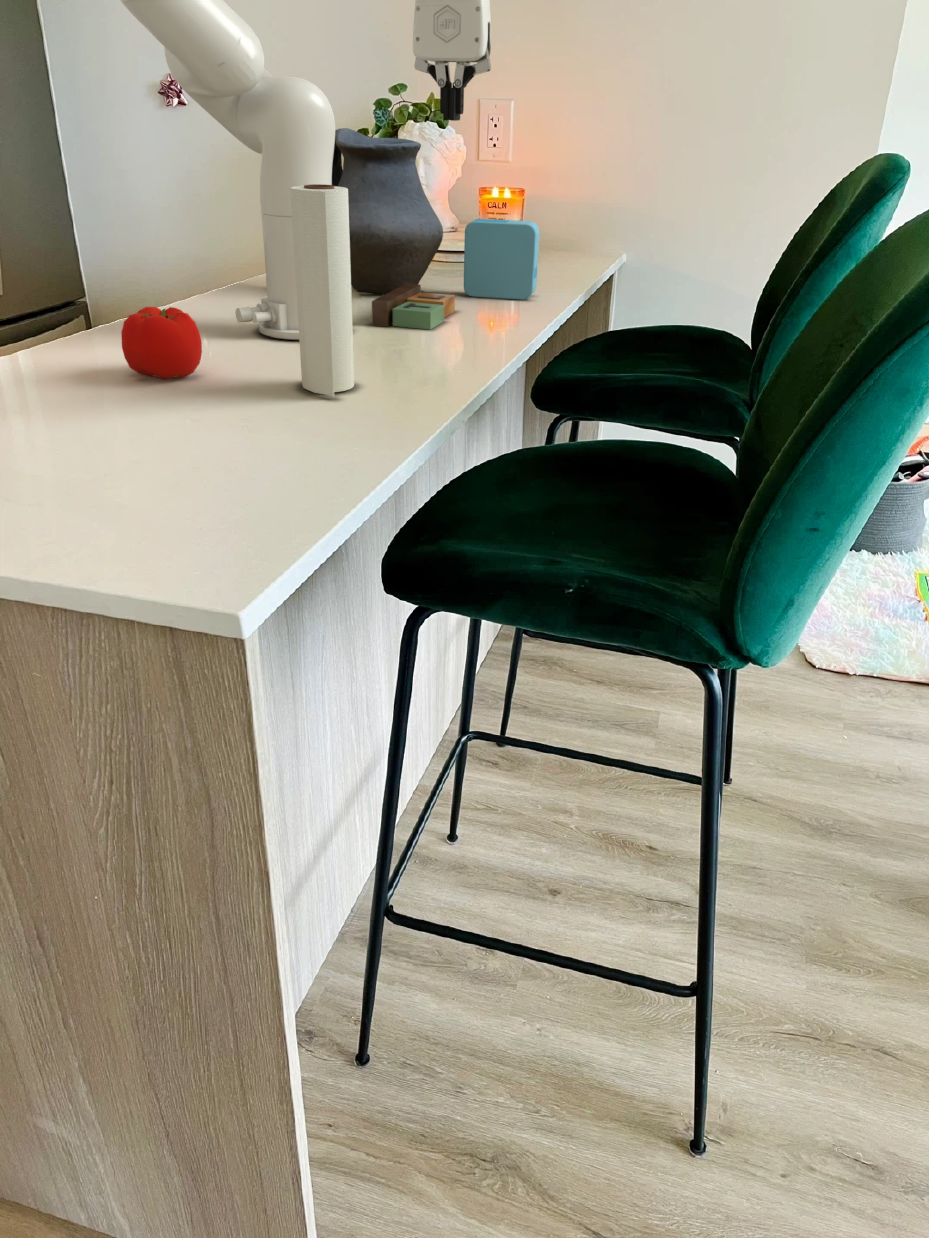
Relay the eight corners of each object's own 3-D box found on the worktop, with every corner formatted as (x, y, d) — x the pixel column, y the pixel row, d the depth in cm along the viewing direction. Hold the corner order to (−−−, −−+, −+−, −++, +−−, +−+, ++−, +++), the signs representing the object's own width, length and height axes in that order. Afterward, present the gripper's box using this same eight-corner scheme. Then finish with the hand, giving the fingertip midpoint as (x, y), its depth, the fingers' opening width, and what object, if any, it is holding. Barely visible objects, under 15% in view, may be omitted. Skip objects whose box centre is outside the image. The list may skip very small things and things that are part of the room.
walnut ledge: (387, 326, 139) (387, 302, 138) (372, 325, 140) (371, 301, 138) (420, 307, 153) (420, 284, 151) (406, 306, 153) (406, 283, 152)
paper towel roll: (318, 378, 113) (308, 182, 103) (363, 384, 111) (357, 185, 101) (286, 393, 107) (273, 186, 97) (334, 399, 105) (325, 190, 95)
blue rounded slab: (536, 296, 164) (540, 221, 158) (532, 300, 160) (536, 224, 154) (468, 292, 166) (470, 218, 160) (462, 296, 162) (464, 221, 156)
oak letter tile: (443, 318, 145) (443, 301, 144) (406, 315, 147) (406, 298, 146) (454, 311, 150) (455, 294, 149) (419, 308, 152) (419, 291, 151)
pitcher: (396, 306, 153) (394, 133, 141) (293, 291, 163) (283, 128, 151) (463, 288, 168) (466, 131, 156) (365, 275, 178) (361, 127, 166)
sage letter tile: (430, 329, 138) (430, 311, 137) (392, 326, 140) (392, 308, 139) (444, 322, 143) (444, 304, 142) (407, 318, 145) (406, 301, 144)
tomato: (167, 389, 107) (159, 321, 104) (111, 377, 111) (101, 312, 108) (223, 372, 115) (217, 308, 111) (169, 361, 118) (161, 299, 115)
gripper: (391, -40, 123) (392, 119, 132) (502, -41, 120) (496, 122, 128) (409, -33, 129) (410, 118, 138) (515, -34, 126) (509, 121, 135)
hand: (451, 120), depth 133 cm, fingers closed
